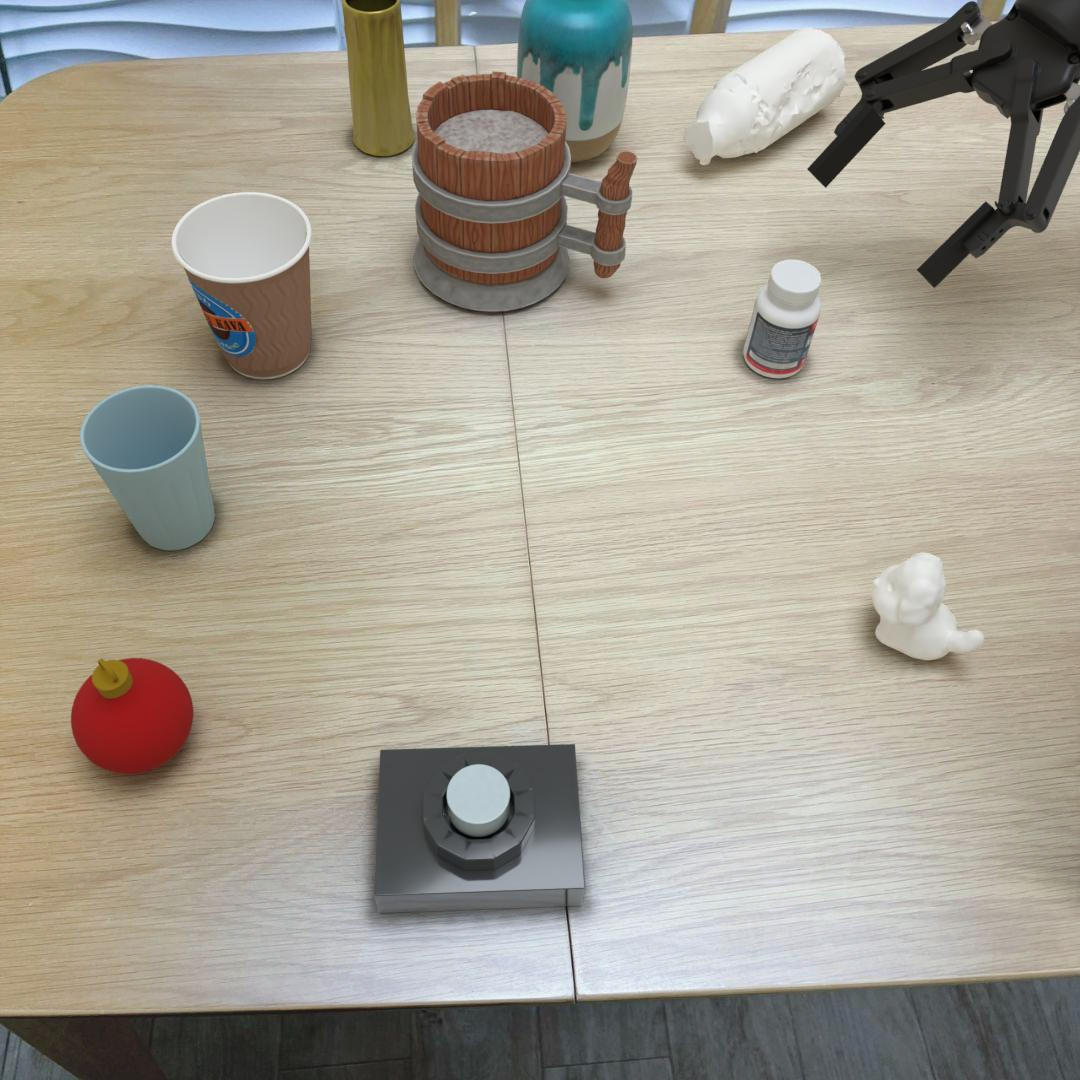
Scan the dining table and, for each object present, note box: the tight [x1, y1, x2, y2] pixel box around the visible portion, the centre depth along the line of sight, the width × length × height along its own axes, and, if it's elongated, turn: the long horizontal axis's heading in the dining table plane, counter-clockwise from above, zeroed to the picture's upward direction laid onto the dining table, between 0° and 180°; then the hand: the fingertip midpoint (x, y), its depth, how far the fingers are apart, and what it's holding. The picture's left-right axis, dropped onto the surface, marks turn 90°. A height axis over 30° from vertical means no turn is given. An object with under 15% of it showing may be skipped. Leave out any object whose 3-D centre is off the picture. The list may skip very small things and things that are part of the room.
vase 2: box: [516, 0, 634, 163], centre depth 101 cm, size 11×11×19 cm
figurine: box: [871, 551, 985, 661], centre depth 74 cm, size 5×8×8 cm
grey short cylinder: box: [447, 764, 510, 837], centre depth 63 cm, size 4×4×2 cm
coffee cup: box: [171, 191, 313, 380], centre depth 86 cm, size 10×10×12 cm
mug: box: [411, 70, 638, 313], centre depth 92 cm, size 14×19×15 cm
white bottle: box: [683, 27, 848, 166], centre depth 108 cm, size 8×19×8 cm, turn 136°
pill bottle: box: [742, 259, 822, 379], centre depth 89 cm, size 5×5×9 cm
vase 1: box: [341, 0, 415, 157], centre depth 103 cm, size 6×6×14 cm
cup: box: [79, 384, 216, 552], centre depth 76 cm, size 8×8×10 cm
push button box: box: [373, 743, 586, 914], centre depth 65 cm, size 12×9×5 cm
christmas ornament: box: [70, 657, 194, 775], centre depth 66 cm, size 7×7×10 cm
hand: (868, 227), depth 86 cm, fingers open, 13 cm apart
